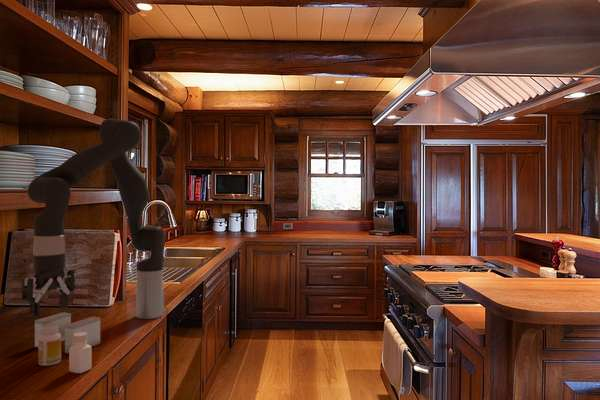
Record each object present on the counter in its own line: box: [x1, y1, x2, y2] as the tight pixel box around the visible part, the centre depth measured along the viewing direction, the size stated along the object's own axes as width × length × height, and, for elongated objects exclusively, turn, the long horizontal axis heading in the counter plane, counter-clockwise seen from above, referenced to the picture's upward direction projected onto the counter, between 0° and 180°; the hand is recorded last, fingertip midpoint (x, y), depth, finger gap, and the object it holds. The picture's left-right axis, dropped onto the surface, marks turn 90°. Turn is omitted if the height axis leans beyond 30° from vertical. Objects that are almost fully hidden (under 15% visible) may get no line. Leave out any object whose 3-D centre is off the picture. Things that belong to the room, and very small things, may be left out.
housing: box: [34, 312, 101, 354], centre depth 136 cm, size 10×15×8 cm, turn 69°
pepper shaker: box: [68, 332, 92, 374], centre depth 117 cm, size 4×4×10 cm
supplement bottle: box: [37, 325, 62, 367], centre depth 122 cm, size 5×5×10 cm
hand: (49, 312), depth 122 cm, fingers open, 8 cm apart
